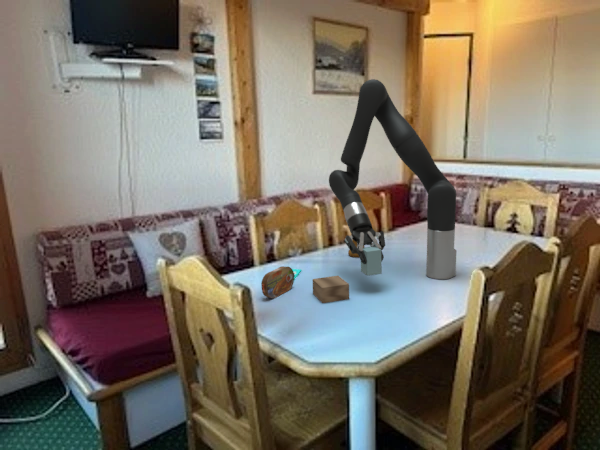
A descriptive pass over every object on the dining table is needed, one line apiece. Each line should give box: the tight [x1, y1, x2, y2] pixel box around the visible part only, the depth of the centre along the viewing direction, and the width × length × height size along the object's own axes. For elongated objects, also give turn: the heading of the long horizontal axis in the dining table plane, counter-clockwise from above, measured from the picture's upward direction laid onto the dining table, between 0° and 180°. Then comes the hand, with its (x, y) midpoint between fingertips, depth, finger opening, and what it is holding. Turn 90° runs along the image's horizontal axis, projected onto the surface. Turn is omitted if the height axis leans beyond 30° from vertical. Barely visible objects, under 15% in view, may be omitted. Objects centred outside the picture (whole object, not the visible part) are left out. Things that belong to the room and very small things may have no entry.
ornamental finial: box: [347, 240, 365, 259], centre depth 196 cm, size 8×8×8 cm
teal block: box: [360, 246, 382, 277], centre depth 154 cm, size 5×5×8 cm
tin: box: [261, 265, 295, 299], centre depth 155 cm, size 15×3×8 cm, turn 146°
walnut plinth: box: [312, 275, 350, 304], centre depth 152 cm, size 9×9×5 cm
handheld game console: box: [291, 268, 303, 281], centre depth 172 cm, size 10×16×1 cm, turn 165°
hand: (373, 261), depth 152 cm, fingers closed on teal block, 5 cm apart
